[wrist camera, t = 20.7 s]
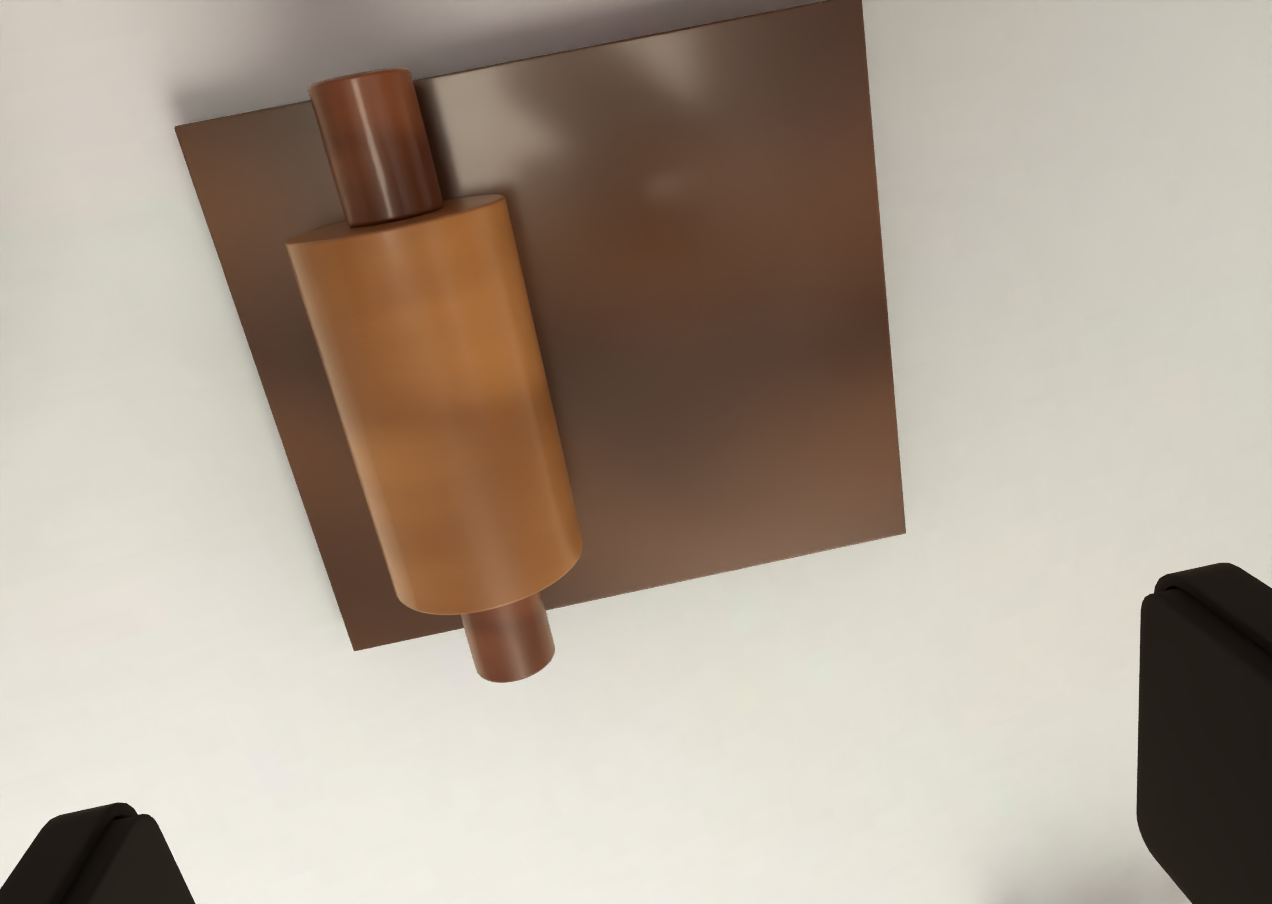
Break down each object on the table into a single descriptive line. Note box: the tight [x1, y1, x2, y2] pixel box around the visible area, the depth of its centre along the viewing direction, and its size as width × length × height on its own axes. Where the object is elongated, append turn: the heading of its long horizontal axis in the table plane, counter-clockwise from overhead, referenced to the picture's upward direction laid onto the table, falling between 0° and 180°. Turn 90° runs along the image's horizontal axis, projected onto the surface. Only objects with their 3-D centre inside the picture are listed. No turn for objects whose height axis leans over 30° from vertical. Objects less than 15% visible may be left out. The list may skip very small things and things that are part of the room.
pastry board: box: [175, 0, 906, 651], centre depth 25 cm, size 15×17×1 cm
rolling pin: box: [285, 68, 583, 683], centre depth 22 cm, size 15×5×5 cm
